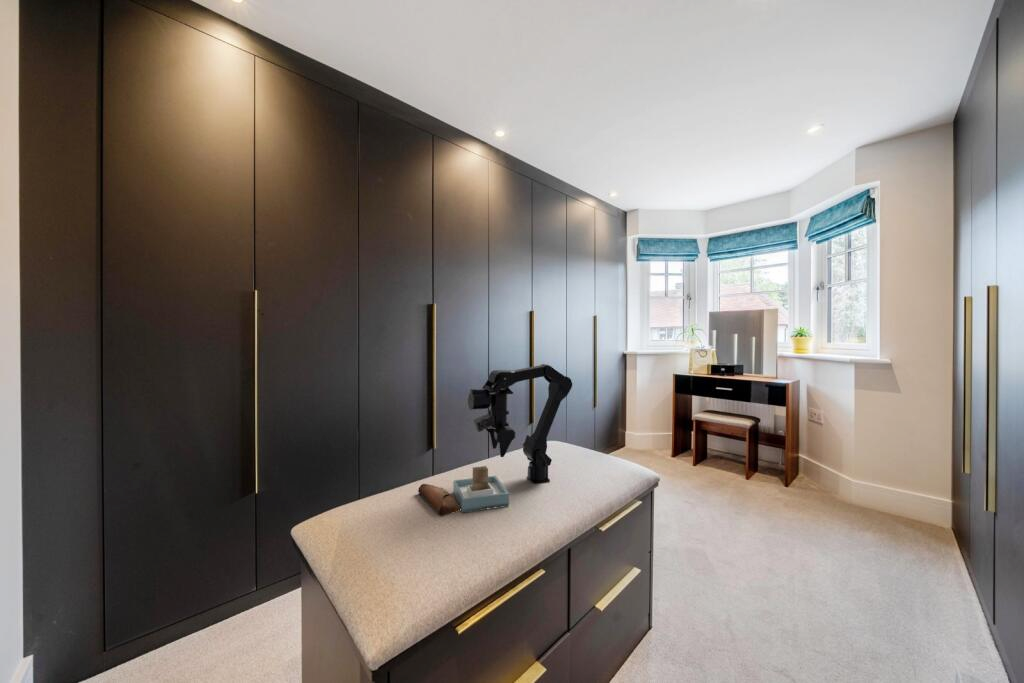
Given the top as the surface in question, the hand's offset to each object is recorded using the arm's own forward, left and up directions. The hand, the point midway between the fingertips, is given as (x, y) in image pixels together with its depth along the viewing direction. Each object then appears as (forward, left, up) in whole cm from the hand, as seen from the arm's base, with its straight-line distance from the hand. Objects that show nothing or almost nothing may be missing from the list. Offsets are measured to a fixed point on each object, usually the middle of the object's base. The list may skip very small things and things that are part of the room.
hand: (498, 452), depth 130 cm
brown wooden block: (+8, +7, -10) cm, 15 cm away
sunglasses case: (+20, +5, -13) cm, 24 cm away
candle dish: (+8, +7, -12) cm, 16 cm away
